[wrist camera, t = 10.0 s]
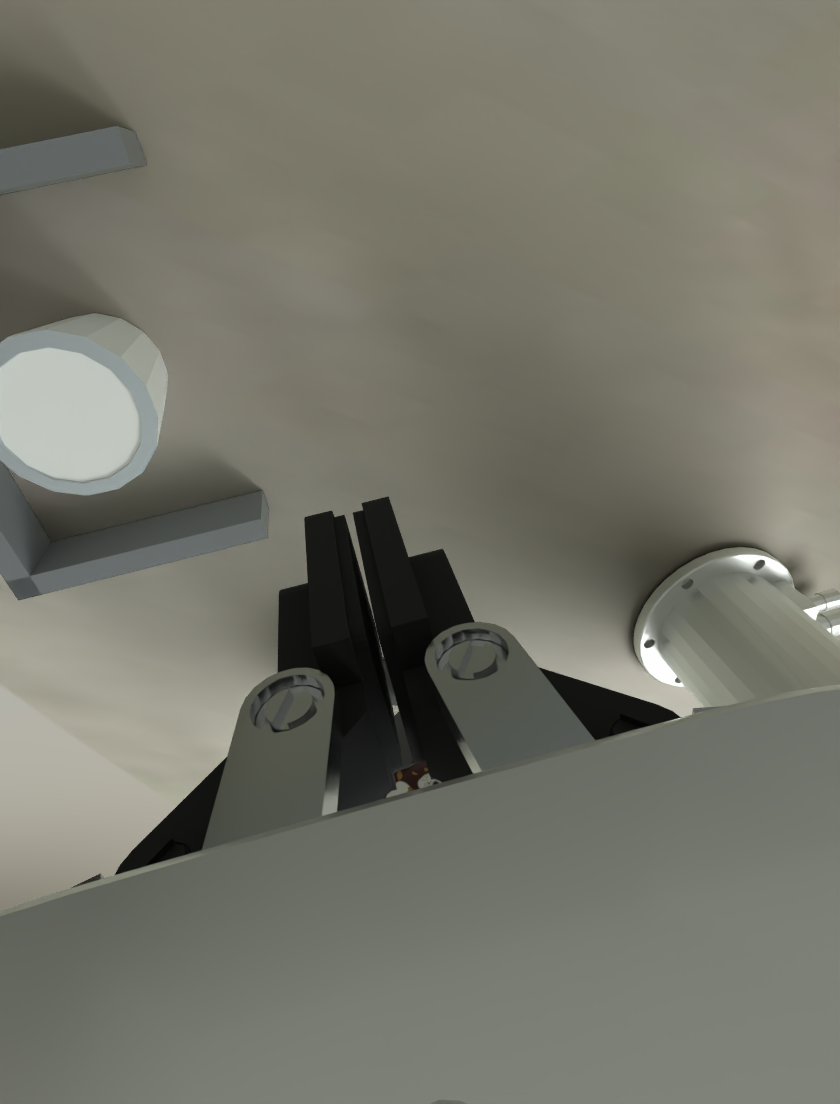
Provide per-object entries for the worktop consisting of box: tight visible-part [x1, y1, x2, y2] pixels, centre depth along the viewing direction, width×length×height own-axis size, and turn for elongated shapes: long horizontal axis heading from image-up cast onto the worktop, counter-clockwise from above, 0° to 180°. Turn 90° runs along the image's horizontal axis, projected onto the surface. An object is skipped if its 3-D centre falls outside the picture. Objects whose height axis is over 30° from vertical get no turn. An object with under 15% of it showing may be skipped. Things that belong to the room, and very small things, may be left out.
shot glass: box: [0, 313, 168, 496], centre depth 28 cm, size 7×7×7 cm
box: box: [0, 126, 269, 600], centre depth 29 cm, size 13×18×4 cm
